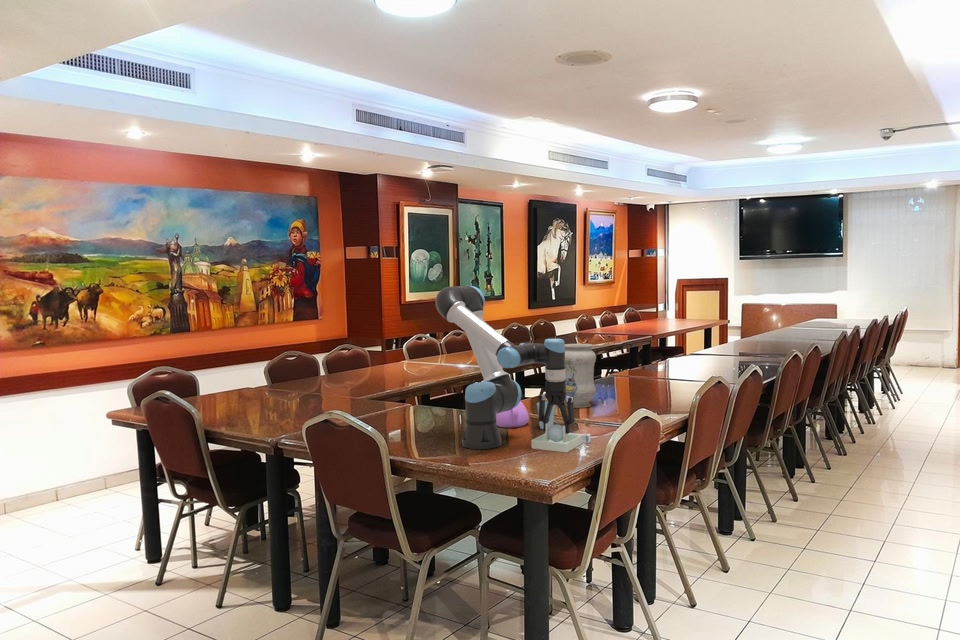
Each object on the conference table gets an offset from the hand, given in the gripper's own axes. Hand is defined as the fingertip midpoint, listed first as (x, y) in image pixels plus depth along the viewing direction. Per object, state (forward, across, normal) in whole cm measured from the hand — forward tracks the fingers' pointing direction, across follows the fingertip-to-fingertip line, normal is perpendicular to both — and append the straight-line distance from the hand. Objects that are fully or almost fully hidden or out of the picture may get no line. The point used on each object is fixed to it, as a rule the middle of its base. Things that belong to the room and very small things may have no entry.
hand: (556, 440), depth 259 cm
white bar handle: (+2, 0, +9) cm, 9 cm away
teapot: (+2, -34, +26) cm, 43 cm away
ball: (0, 0, 0) cm, 0 cm away
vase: (+2, -24, +76) cm, 80 cm away
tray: (+2, 0, 0) cm, 2 cm away
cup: (+2, -17, +26) cm, 31 cm away
